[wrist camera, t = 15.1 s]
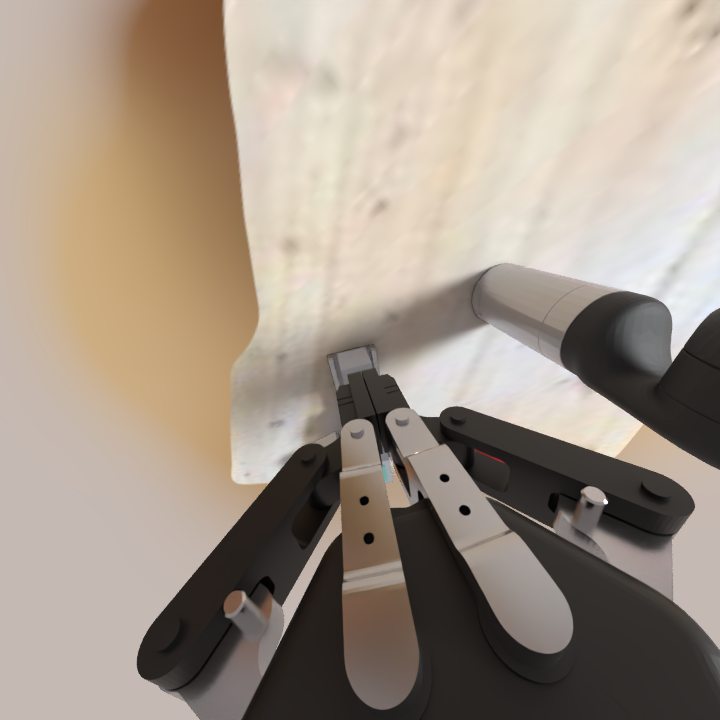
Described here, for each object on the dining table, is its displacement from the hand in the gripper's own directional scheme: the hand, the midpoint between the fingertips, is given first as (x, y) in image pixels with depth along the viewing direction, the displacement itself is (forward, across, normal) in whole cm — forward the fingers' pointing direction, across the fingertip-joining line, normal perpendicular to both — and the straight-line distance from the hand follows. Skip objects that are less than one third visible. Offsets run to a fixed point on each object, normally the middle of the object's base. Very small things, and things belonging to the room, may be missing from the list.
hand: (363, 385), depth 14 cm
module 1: (+26, -1, +14) cm, 29 cm away
